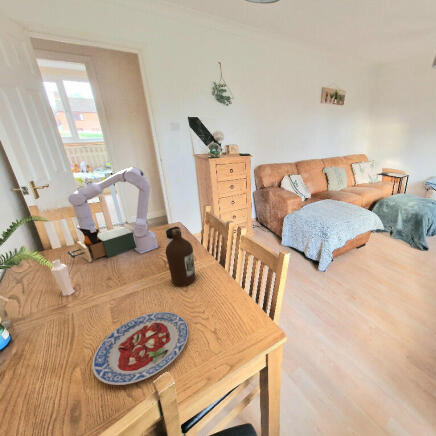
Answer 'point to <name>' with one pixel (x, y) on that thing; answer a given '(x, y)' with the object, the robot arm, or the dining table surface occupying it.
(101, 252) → the drawer
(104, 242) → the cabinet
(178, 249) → the brown bottle
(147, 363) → the ceramic plate
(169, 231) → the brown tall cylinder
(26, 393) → the dining table surface
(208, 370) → the dining table surface
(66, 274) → the perfume bottle
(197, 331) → the dining table surface
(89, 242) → the orange
